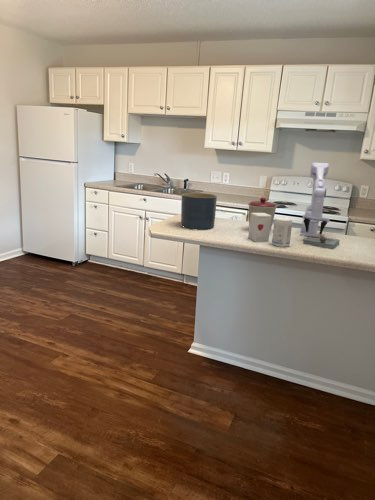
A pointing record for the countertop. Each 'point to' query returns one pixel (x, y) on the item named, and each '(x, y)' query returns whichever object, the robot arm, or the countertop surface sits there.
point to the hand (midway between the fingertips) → (313, 232)
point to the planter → (198, 210)
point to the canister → (262, 208)
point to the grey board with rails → (329, 242)
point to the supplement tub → (282, 231)
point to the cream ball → (322, 234)
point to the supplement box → (259, 227)
